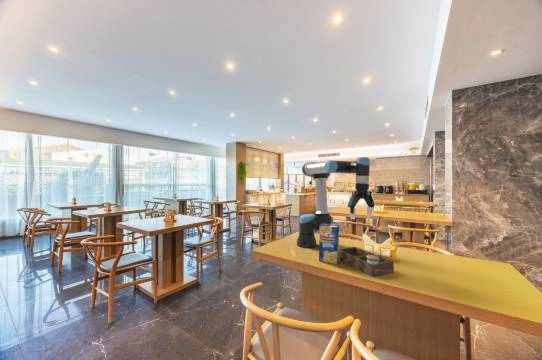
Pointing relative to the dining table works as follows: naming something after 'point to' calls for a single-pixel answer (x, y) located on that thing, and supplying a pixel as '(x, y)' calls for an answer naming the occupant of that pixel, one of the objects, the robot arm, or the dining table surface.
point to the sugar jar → (372, 259)
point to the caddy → (365, 261)
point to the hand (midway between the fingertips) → (361, 218)
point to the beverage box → (329, 243)
